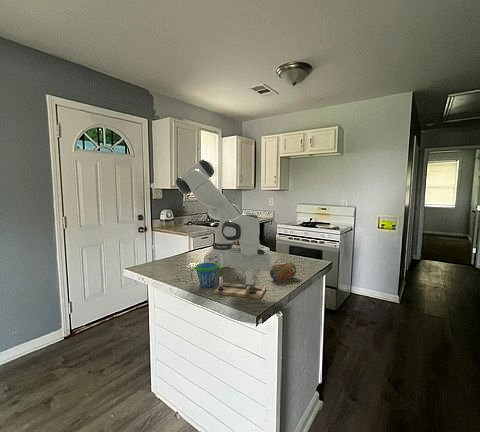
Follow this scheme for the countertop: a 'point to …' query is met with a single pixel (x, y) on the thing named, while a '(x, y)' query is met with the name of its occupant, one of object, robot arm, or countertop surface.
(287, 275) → the tin
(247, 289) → the sliding pointer
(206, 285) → the snack cup
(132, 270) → the countertop surface
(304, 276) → the countertop surface
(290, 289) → the countertop surface
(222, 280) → the fixed leg
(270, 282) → the countertop surface
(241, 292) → the board
